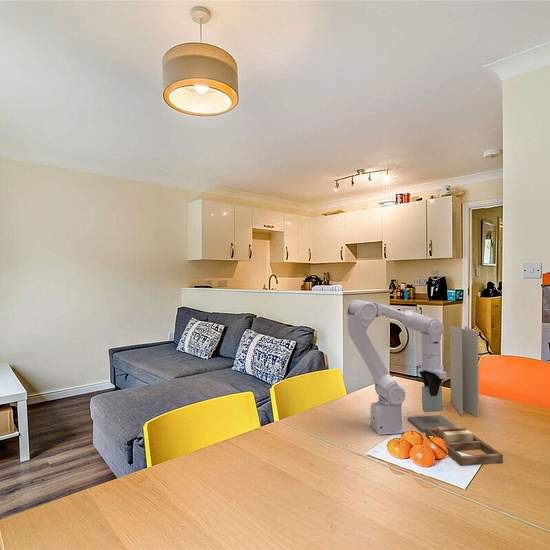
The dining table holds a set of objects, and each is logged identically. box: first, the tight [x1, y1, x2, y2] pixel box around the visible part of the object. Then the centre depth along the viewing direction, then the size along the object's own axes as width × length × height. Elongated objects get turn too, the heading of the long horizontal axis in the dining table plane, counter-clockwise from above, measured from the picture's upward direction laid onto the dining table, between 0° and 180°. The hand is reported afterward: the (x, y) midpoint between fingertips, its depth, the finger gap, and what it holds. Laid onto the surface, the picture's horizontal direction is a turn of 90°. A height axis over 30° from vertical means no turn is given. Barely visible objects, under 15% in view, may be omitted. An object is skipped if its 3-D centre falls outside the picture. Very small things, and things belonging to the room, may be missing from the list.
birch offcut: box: [443, 429, 474, 443], centre depth 107 cm, size 8×2×4 cm, turn 96°
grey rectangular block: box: [421, 385, 444, 413], centre depth 122 cm, size 6×2×8 cm, turn 96°
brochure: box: [449, 325, 480, 418], centre depth 135 cm, size 14×6×30 cm, turn 168°
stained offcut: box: [437, 425, 466, 439], centre depth 111 cm, size 8×2×4 cm, turn 96°
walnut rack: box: [425, 428, 504, 467], centre depth 106 cm, size 12×18×2 cm, turn 6°
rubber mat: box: [407, 414, 456, 434], centre depth 122 cm, size 12×10×1 cm
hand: (431, 394), depth 122 cm, fingers closed on grey rectangular block, 2 cm apart
